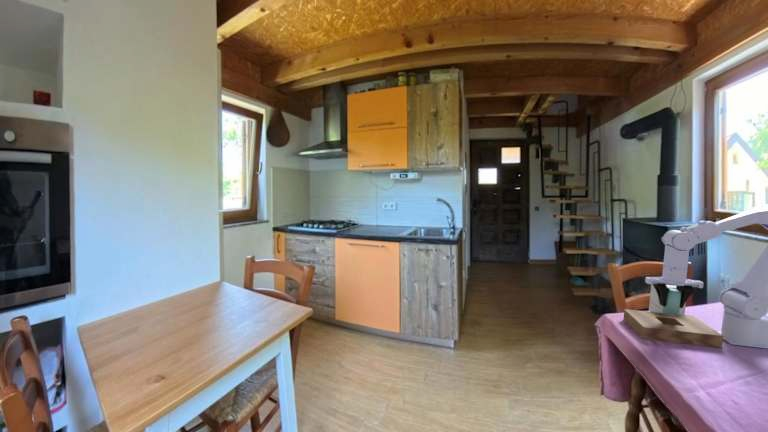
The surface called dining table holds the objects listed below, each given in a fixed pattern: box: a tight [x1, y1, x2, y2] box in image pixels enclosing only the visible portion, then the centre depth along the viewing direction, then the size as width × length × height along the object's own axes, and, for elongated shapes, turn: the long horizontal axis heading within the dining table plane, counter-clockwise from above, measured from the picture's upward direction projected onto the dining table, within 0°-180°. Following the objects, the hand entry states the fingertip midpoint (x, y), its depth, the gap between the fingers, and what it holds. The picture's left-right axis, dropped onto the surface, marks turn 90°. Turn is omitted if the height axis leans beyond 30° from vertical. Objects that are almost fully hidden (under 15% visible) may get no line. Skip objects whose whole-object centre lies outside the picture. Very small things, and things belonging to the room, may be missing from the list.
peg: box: [662, 288, 681, 316], centre depth 100 cm, size 4×4×8 cm
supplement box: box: [648, 284, 687, 315], centre depth 112 cm, size 7×7×13 cm
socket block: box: [623, 308, 724, 349], centre depth 101 cm, size 20×14×4 cm
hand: (670, 306), depth 100 cm, fingers closed on peg, 4 cm apart
